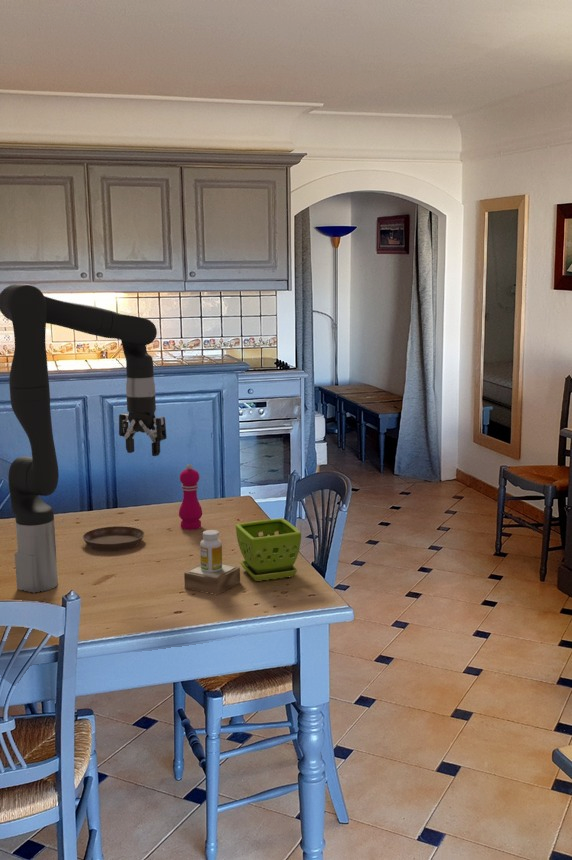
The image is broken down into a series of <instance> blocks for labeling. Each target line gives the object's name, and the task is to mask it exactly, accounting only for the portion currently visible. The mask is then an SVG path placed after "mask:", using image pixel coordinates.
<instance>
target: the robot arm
mask: <svg viewBox="0 0 572 860" xmlns="http://www.w3.org/2000/svg"><path fill="white" fill-rule="evenodd" d="M0 312H1V314H2V315H3V316H4V317H5V318H6V319H7V320H9V321H11V323H12V328H13V337H14V351H13V357H12V361H11V365H10V371H9V381H8V383H9V397H10V398H9V399H10V405H11V409H12V411H13V414H14V415H15V417H16V419H17V421H18V422H19V424H20V426H21V427H22V430H24V432H25V434H26V436H27V438H28V441H29V443H30V444H29V445H30V449H31V456H24V455H23V456H19V457H16V458H15V459H14V460H13V461H12V462H11V464H10V465H9V469H8V470H9V471H8V480H7V481H8V490H9V496H10V497H9V499H10V505H11V510H12V513H13V515H14V518H15V531H16V532H15V533H16V545H17V551H16V552H15V553H14V565H15V578H16V579H15V580H16V590H18V589H19V590H20V591H22V590H24V591H23V592H26V591H28V592H27V593H30V592H33V593H32V594H36V593H35V592H37V593H40V591H41V592H45V591H46V592H47V591H50V590H52V588H53V589H55V588H56V587H58V585H59V582H58V581H59V580H58V565H57V563H58V562H57V546H56V545H57V544H56V529H55V511H54V509H53V507H52V506H51V505H49V504H48V503H46V502H45V501H44V500H43V499H42V498H41V497H42V496H43V497H46V496H50V495H52V494H54V492H55V490H56V489H57V487H58V483H59V466H58V465H59V464H58V458H57V453H56V447H55V442H54V441H55V440H54V435H53V434H54V432H53V425H52V414H51V411H52V410H51V394H50V393H51V391H50V379H49V369H48V367H49V365H48V358H47V357H48V356H47V348H46V347H47V346H46V344H47V343H46V332H47V331H46V328H47V324H49V325H54V326H58V327H63V328H66V329H70V330H73V331H77V332H79V333H80V332H81V333H84V334H89V335H92V336H96V337H101V338H105V339H117V340H121V341H120V342H121V346H122V350H123V355H124V357H125V362H126V363H125V365H126V366H125V367H126V368H125V369H126V371H125V372H126V383H125V391H126V393H125V394H126V411H127V412H128V413H127V412H125V413H121V414H119V415H118V435H119V436H120V437H123V438H124V439H125V450H126V452H127V453H129V454H131V453H134V452H135V438H134V436H135V435H136V433H138V432H139V433H140V432H141V433H144V434H146V436H148V437H149V438H150V441H151V455H152V456H153V457H158V456H159V455H160V454H161V441H164V440H166V439H167V428H166V427H167V426H166V418H165V417H164V416H159V417H156V415H155V413H156V410H157V409H156V407H157V406H156V402H157V401H156V384H155V375H154V360H153V357H152V356H151V355H150V354H149V353H148V350H147V346H148V345H150V344H152V343H153V342H154V341H155V339H156V338H157V335H158V331H157V330H158V329H157V327H156V325H155V323H154V322H153V321H151V320H150V319H148V318H145V317H140V316H135V315H129V314H124V313H119V312H117V311H113V310H110V309H106V308H102V307H97V306H93V305H88V304H84V303H83V304H82V303H77V302H70V301H69V302H68V301H65V300H60V299H57V298H56V299H55V298H53V297H49V296H46V295H44V293H43V292H42V291H41V289H39V288H38V287H36V286H35V285H32V284H28V283H26V284H25V283H15V284H10V285H9V286H6V287H4V289H2V290H1V292H0ZM40 496H41V497H40Z"/></svg>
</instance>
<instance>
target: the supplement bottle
mask: <svg viewBox="0 0 572 860" xmlns="http://www.w3.org/2000/svg"><path fill="white" fill-rule="evenodd" d="M219 537H220V532H219V530H216V529H207V530H204V531H203V532H202V538H203V539H201V541H200V543H199V546H200V548H199V550H200V551H199V553H200V555H199V556H200V565H201V570H202V571H204V572H217V571H220V570H221V569H222V564H223V545H222V544H223V543H222V540H220V539H219Z"/></svg>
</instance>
